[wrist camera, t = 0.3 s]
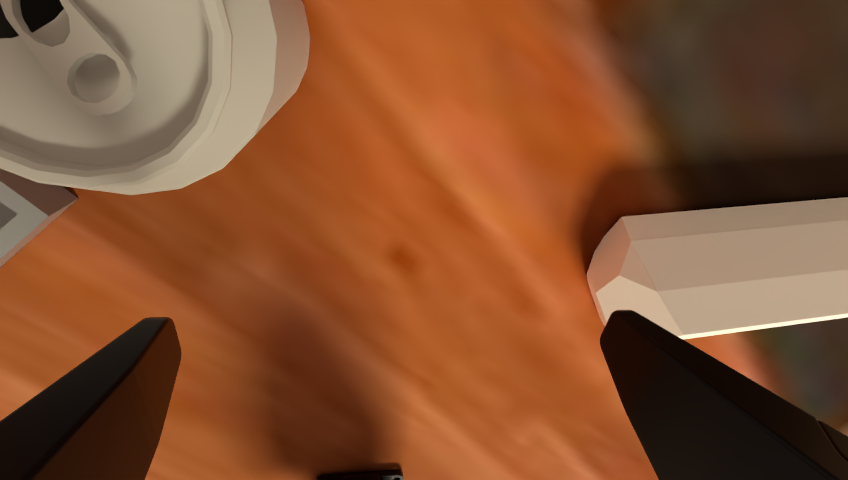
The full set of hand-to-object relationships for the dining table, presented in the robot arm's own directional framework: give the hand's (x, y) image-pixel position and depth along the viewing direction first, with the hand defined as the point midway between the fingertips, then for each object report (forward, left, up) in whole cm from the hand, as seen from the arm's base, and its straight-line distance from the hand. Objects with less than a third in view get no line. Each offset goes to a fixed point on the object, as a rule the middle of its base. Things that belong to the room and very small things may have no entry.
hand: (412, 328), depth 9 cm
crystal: (-4, -25, -15) cm, 29 cm away
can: (+5, +7, -14) cm, 17 cm away
